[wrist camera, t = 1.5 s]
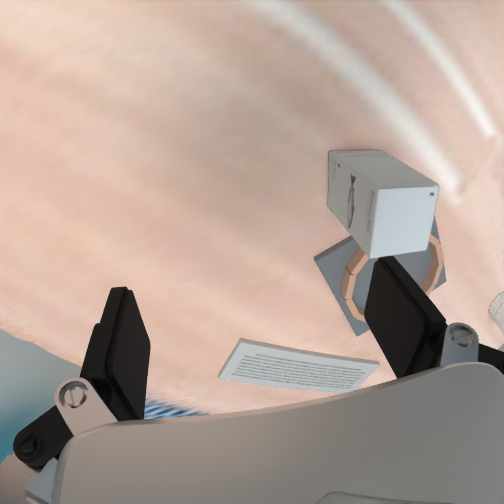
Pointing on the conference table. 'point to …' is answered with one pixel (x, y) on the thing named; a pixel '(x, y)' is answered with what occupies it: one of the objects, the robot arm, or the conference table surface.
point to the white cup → (498, 310)
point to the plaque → (294, 368)
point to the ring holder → (361, 267)
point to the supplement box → (381, 201)
